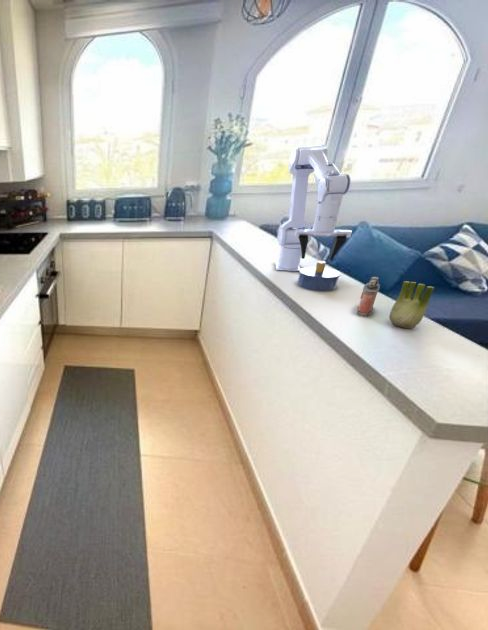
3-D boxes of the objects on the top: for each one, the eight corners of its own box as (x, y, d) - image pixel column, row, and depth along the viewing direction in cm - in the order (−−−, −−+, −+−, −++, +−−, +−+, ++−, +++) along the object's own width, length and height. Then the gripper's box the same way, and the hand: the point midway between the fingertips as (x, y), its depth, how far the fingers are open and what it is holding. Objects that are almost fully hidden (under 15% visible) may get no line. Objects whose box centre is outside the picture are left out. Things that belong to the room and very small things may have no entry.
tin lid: (296, 268, 124) (299, 256, 122) (335, 271, 119) (339, 258, 117) (300, 279, 115) (303, 266, 113) (343, 281, 110) (346, 268, 108)
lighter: (359, 305, 102) (369, 273, 98) (374, 308, 100) (384, 275, 96) (354, 314, 97) (364, 281, 93) (369, 317, 95) (380, 283, 91)
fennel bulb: (421, 330, 87) (439, 286, 82) (401, 331, 87) (417, 287, 82) (401, 320, 92) (417, 278, 87) (382, 321, 92) (397, 279, 87)
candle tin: (295, 279, 125) (298, 267, 123) (332, 281, 121) (335, 269, 119) (299, 289, 116) (302, 277, 115) (338, 292, 112) (341, 279, 110)
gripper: (300, 218, 107) (291, 260, 113) (358, 218, 101) (346, 263, 107) (298, 214, 113) (290, 254, 119) (353, 214, 107) (341, 257, 112)
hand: (316, 258), depth 113 cm, fingers open, 7 cm apart
